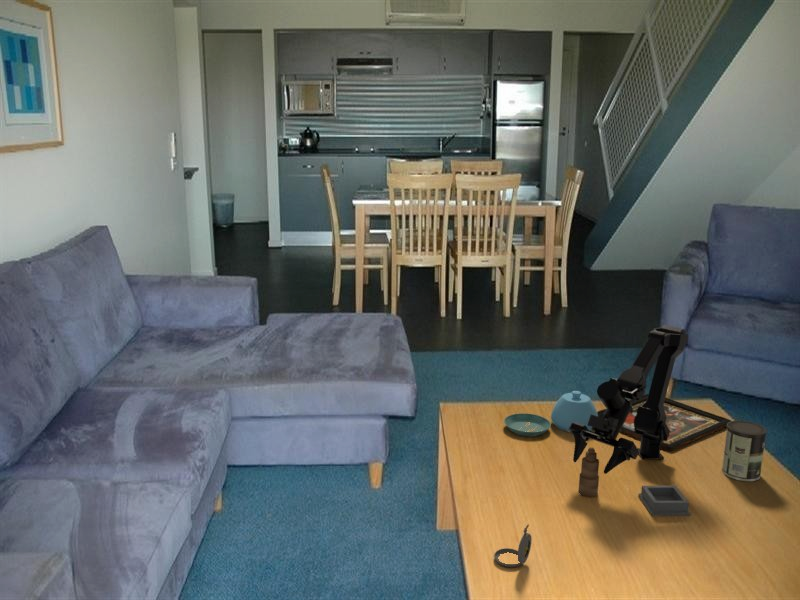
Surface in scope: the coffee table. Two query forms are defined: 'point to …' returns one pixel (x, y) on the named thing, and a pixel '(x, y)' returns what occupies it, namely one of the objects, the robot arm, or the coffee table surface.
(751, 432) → the coffee can
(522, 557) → the pocket watch
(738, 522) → the coffee table surface
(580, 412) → the sugar bowl
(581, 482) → the pepper mill
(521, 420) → the saucer
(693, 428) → the framed icon painting
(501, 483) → the coffee table surface
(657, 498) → the slate open box
